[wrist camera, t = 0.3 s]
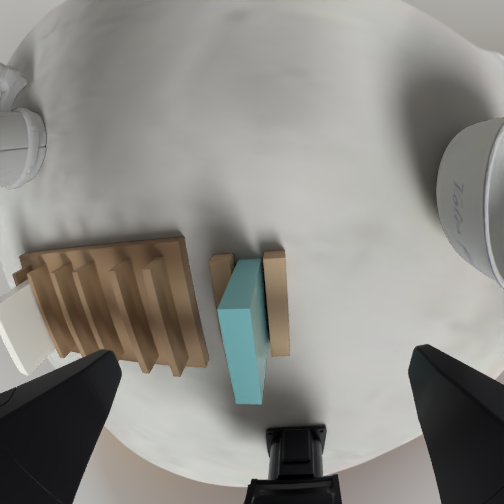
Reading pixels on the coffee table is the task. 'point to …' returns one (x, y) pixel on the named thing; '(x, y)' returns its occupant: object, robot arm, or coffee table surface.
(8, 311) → the cream plate
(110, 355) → the robot arm
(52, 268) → the rack
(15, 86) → the mug
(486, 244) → the teacup
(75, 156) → the coffee table surface
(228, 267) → the wooden slats
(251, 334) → the teal rectangular prism
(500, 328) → the coffee table surface
